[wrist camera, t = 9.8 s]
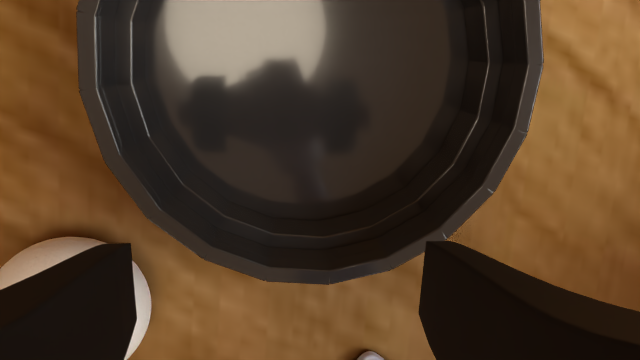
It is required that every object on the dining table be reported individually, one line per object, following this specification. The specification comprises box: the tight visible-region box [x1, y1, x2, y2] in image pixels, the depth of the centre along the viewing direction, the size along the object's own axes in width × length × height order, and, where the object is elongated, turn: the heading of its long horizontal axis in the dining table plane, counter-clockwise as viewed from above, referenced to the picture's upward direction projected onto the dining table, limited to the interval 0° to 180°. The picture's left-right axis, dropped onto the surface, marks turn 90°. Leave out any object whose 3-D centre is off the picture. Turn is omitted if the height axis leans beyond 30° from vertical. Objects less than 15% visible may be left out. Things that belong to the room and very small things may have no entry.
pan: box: [76, 0, 544, 285], centre depth 18 cm, size 15×15×4 cm
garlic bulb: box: [0, 237, 151, 360], centre depth 17 cm, size 6×6×8 cm
